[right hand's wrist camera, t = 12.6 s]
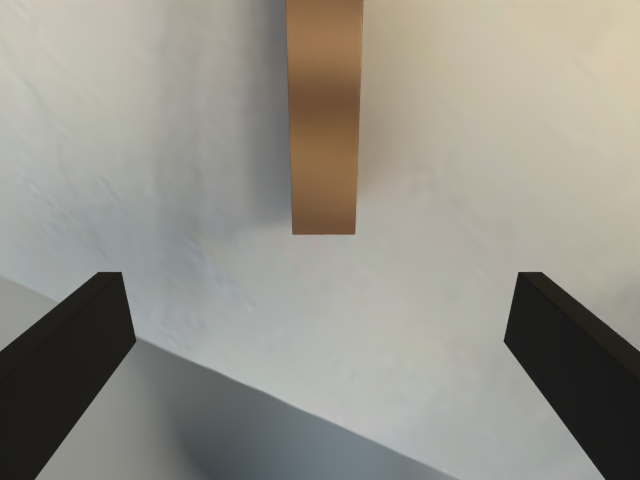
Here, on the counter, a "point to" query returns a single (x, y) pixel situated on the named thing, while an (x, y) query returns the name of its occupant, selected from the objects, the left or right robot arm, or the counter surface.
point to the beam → (324, 113)
